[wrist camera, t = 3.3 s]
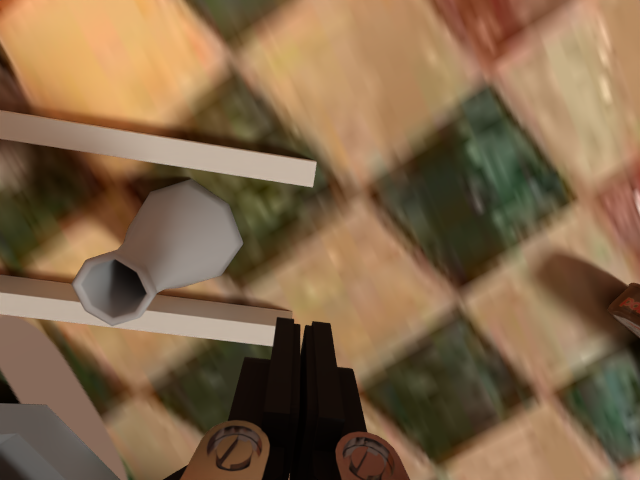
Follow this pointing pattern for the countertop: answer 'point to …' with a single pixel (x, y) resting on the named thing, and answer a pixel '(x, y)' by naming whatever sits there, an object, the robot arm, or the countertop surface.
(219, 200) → the flask
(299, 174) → the guide rails
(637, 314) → the tin
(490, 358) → the countertop surface
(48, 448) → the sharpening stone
